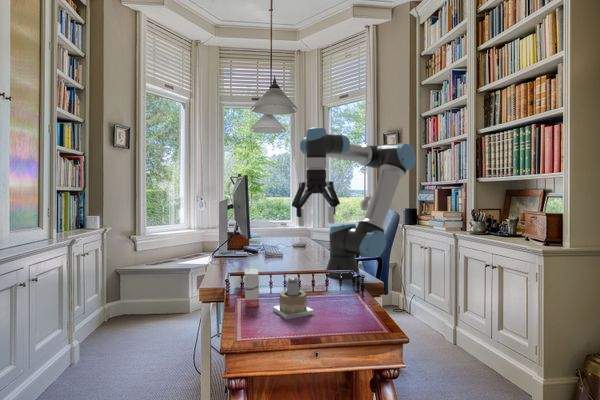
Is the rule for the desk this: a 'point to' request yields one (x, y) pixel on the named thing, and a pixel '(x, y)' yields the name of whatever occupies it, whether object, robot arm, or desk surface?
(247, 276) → the ink box
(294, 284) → the post
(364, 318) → the desk surface
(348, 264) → the robot arm
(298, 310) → the collar
